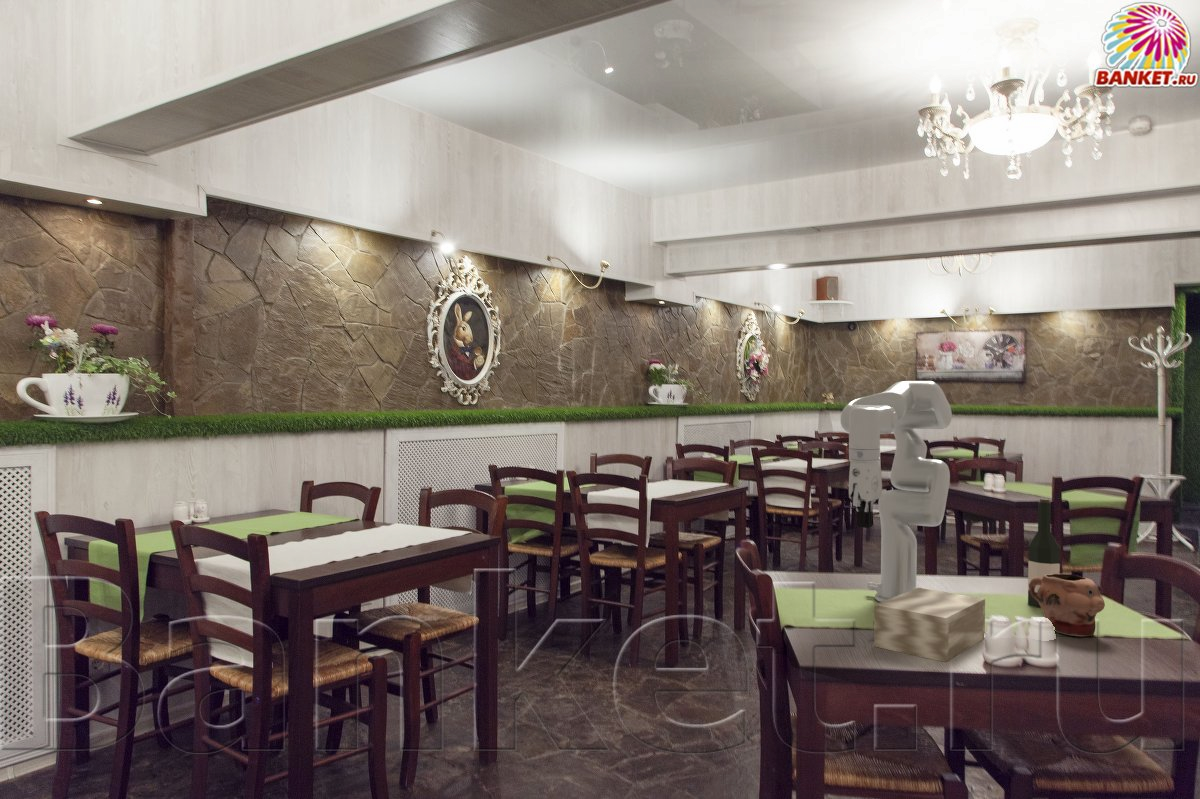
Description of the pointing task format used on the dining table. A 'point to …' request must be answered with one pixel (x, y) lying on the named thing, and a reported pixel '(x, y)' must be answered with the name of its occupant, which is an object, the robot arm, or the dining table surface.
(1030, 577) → the wine bottle
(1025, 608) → the dining table surface
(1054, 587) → the animal face pitcher
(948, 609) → the mottled beige box
